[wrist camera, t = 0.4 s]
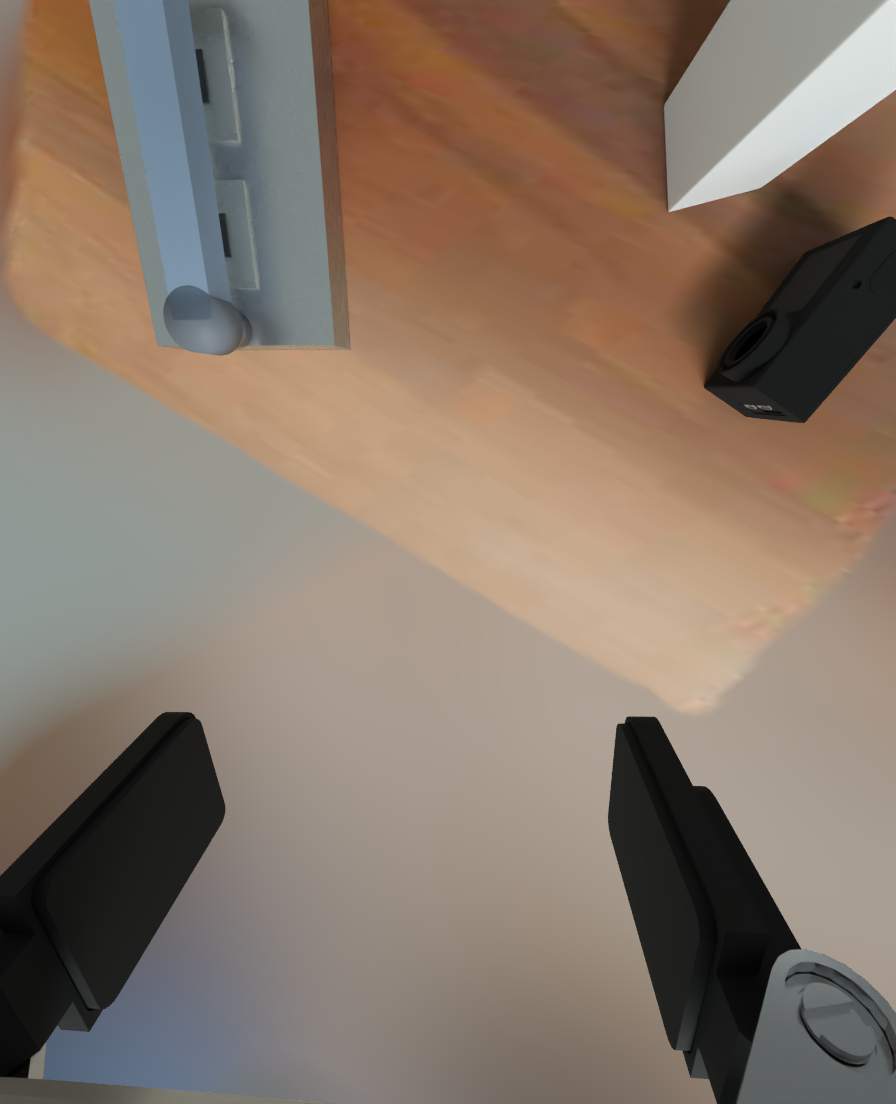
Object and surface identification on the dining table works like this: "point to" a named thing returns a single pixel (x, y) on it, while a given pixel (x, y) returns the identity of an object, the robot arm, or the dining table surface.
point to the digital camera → (812, 328)
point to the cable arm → (179, 173)
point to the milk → (773, 91)
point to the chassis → (254, 167)
